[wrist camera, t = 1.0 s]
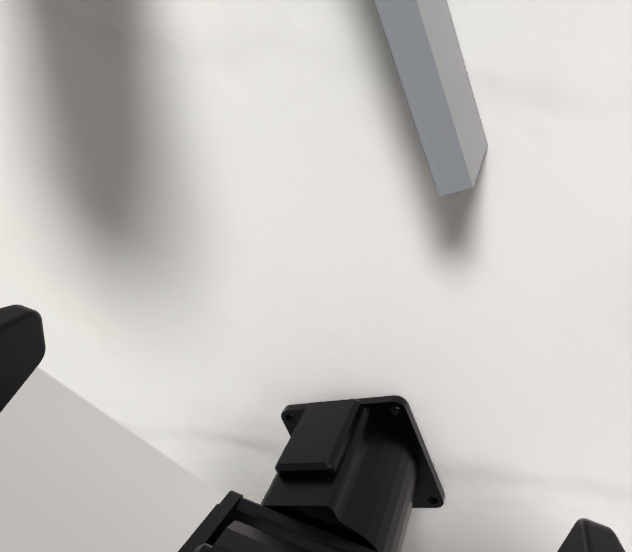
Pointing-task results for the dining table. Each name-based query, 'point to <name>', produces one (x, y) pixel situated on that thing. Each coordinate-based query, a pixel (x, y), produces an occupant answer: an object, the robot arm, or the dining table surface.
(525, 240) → the dining table surface
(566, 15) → the dining table surface
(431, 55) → the grey u-shaped fence
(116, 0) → the dining table surface
